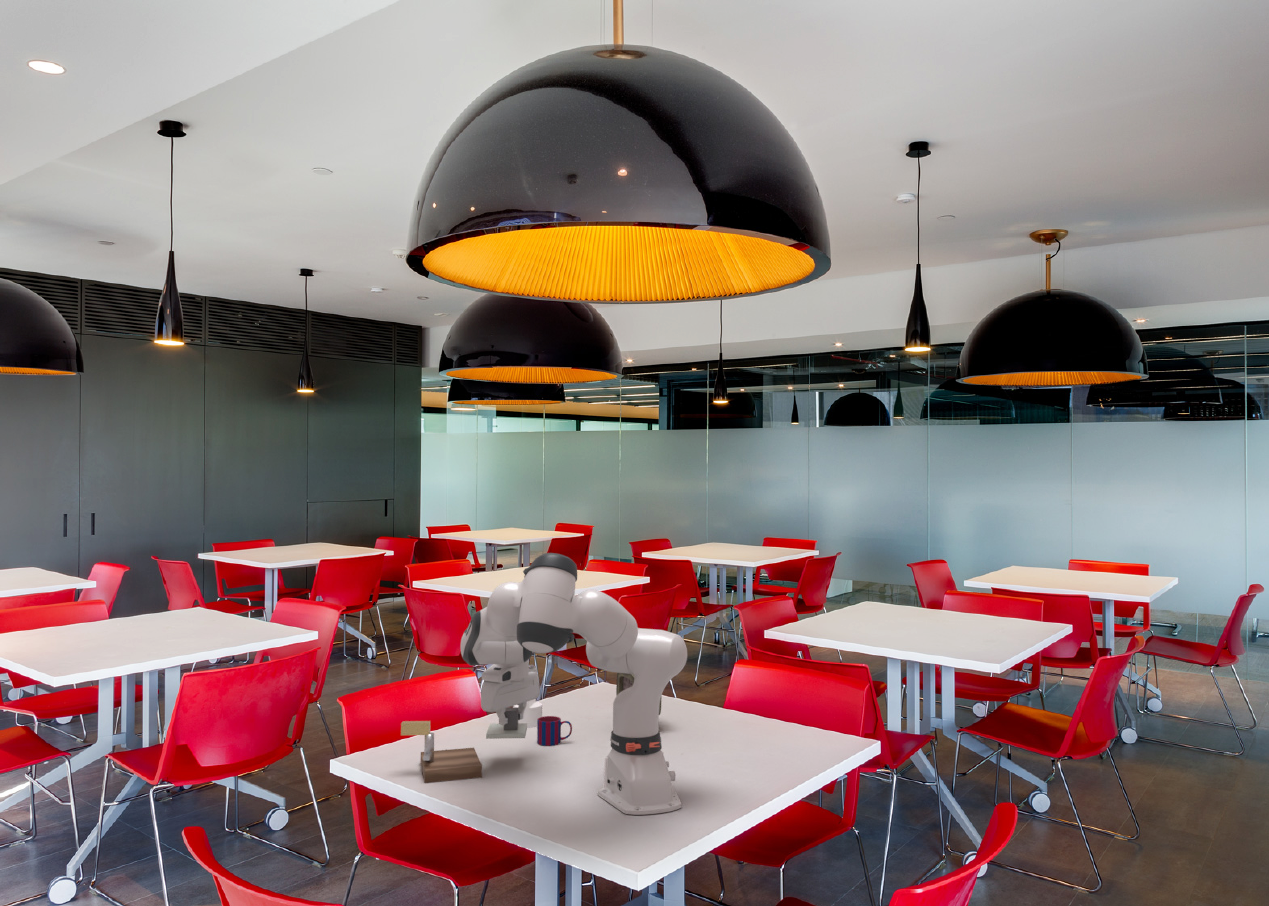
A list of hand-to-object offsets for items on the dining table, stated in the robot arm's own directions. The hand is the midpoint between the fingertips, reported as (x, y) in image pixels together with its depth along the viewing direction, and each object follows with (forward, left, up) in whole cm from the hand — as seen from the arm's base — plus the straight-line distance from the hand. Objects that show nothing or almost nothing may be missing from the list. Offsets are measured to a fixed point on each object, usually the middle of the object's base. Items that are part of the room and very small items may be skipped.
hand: (511, 722), depth 226 cm
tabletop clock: (+22, -43, -11) cm, 50 cm away
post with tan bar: (-3, +25, -8) cm, 26 cm away
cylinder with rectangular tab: (+38, -12, -11) cm, 41 cm away
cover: (0, +1, -3) cm, 3 cm away
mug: (+15, -15, -11) cm, 24 cm away
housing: (-1, +16, -11) cm, 19 cm away
